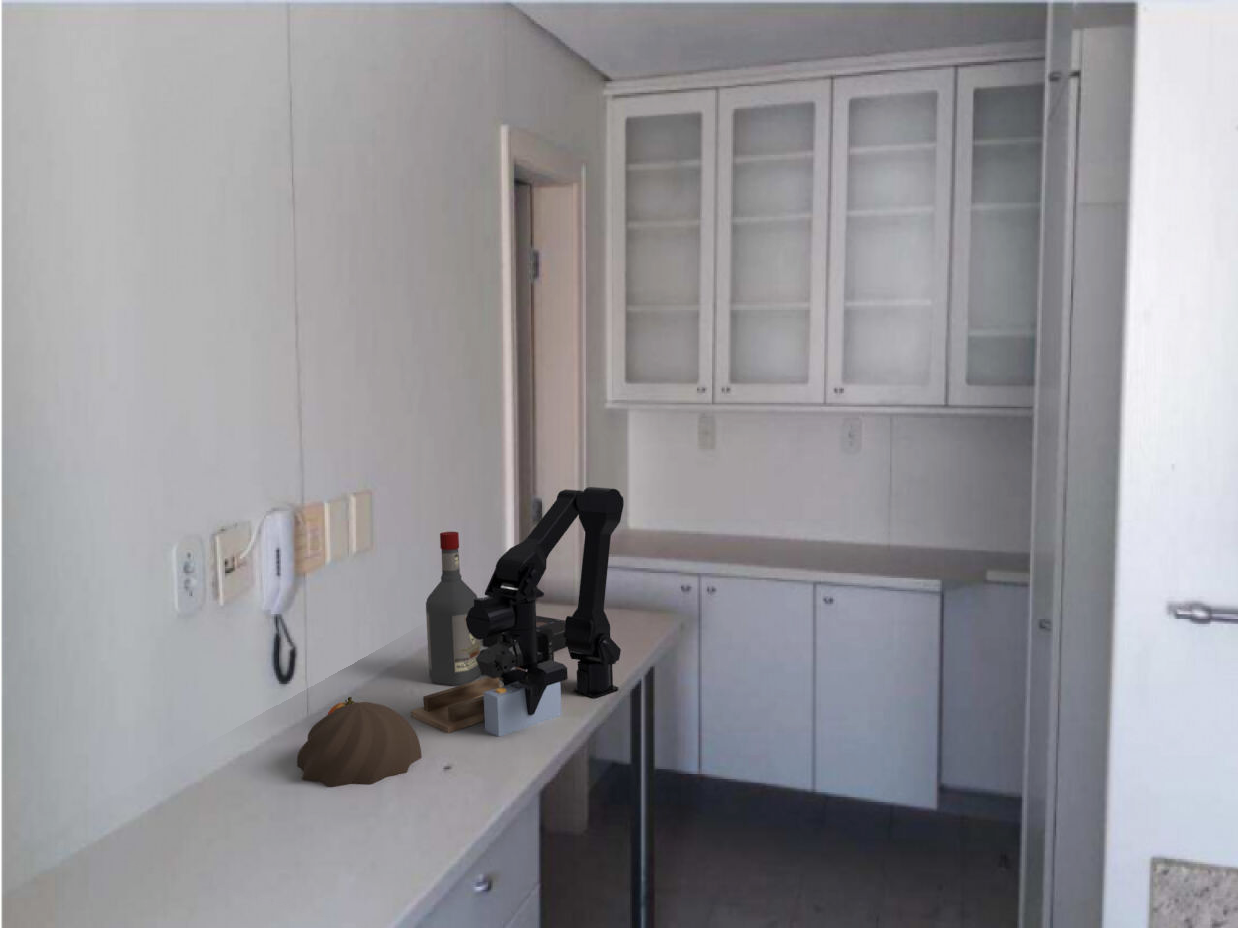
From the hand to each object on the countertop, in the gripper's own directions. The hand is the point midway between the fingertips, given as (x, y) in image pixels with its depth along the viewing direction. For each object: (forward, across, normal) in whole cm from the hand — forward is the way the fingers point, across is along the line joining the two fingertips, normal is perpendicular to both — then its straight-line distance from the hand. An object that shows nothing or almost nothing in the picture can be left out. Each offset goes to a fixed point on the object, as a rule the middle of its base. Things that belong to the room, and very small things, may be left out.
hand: (523, 711), depth 178 cm
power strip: (+2, 0, 0) cm, 2 cm away
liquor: (+2, -30, +6) cm, 31 cm away
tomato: (+2, -22, -22) cm, 31 cm away
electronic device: (+2, -19, +16) cm, 25 cm away
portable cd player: (+3, -38, +33) cm, 50 cm away
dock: (+2, -12, -2) cm, 12 cm away
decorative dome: (+2, -6, -29) cm, 30 cm away
